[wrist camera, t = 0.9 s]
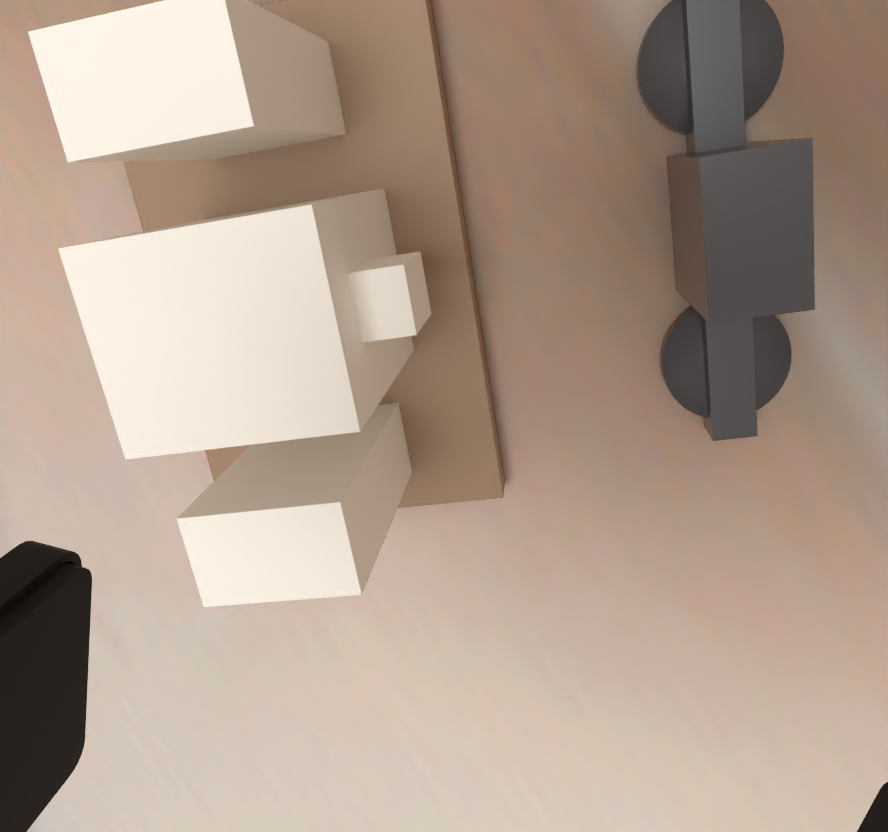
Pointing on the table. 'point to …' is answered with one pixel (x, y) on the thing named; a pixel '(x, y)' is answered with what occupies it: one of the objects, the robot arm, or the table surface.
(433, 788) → the table surface
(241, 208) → the boxes on tan tray
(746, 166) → the grey bar with discs
